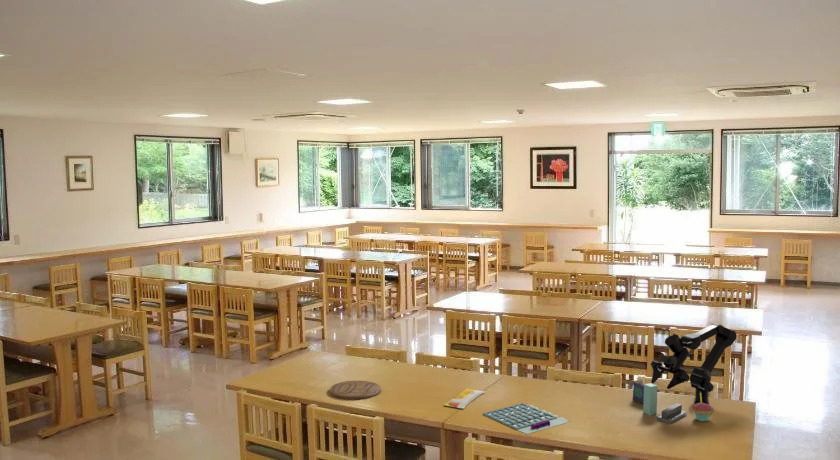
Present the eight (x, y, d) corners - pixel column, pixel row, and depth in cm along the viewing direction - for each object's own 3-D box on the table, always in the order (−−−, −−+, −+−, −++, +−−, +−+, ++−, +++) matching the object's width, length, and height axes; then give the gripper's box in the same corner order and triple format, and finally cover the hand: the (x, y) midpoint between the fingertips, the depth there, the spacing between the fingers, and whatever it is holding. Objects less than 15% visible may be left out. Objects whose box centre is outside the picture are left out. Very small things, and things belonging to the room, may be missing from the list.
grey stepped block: (673, 411, 318) (673, 402, 317) (685, 415, 313) (686, 405, 313) (656, 420, 307) (657, 410, 307) (669, 423, 303) (670, 413, 303)
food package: (466, 386, 349) (485, 389, 344) (466, 390, 349) (485, 393, 345) (443, 402, 325) (463, 406, 320) (443, 407, 325) (463, 411, 321)
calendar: (527, 404, 330) (527, 399, 329) (572, 422, 306) (572, 417, 306) (483, 416, 314) (483, 411, 314) (526, 436, 291) (526, 430, 291)
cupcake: (687, 417, 311) (688, 390, 310) (703, 414, 314) (704, 388, 313) (701, 423, 303) (702, 396, 302) (717, 421, 306) (718, 394, 305)
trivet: (384, 385, 358) (384, 381, 358) (376, 401, 333) (376, 397, 333) (335, 383, 360) (335, 379, 360) (324, 399, 335) (324, 395, 335)
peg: (649, 411, 319) (650, 383, 317) (656, 413, 315) (657, 385, 314) (643, 412, 317) (644, 384, 316) (649, 415, 313) (650, 386, 312)
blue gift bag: (649, 404, 328) (650, 381, 327) (644, 405, 327) (645, 382, 326) (635, 398, 336) (636, 376, 335) (630, 399, 335) (631, 377, 334)
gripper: (653, 343, 327) (635, 369, 323) (685, 352, 310) (666, 380, 306) (665, 357, 331) (647, 384, 327) (697, 368, 315) (679, 395, 310)
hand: (659, 385), depth 317 cm, fingers open, 9 cm apart
